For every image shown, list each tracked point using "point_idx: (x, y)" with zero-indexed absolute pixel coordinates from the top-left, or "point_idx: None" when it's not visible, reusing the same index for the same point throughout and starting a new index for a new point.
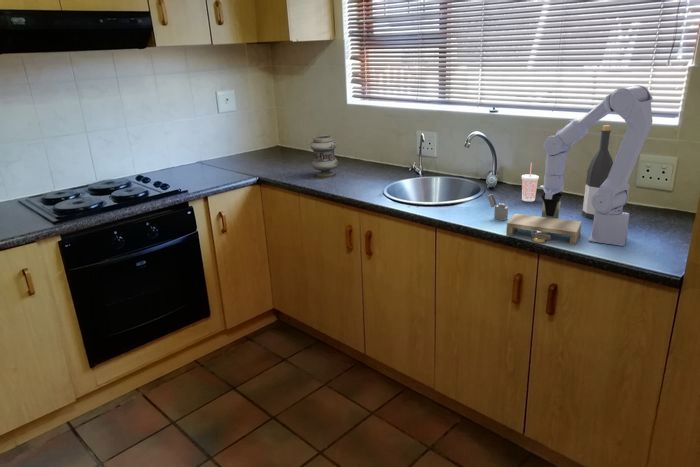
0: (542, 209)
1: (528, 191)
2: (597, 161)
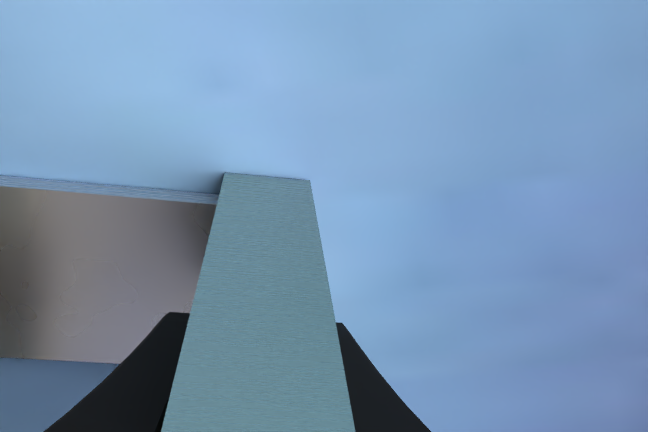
0: (200, 285)
1: None
2: None
